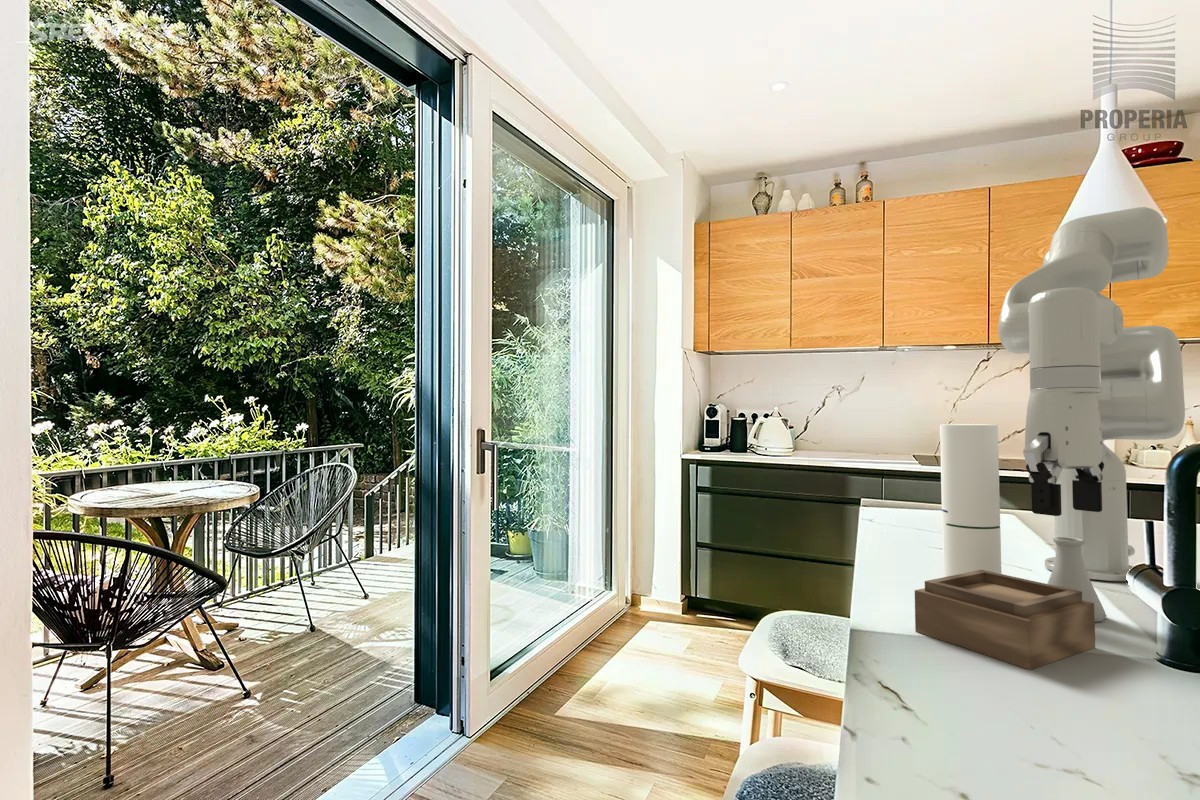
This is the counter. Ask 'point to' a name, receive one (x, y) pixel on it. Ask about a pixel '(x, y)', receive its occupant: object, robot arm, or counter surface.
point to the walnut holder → (1006, 617)
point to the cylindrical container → (970, 498)
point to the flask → (1074, 572)
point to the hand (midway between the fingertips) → (1067, 512)
